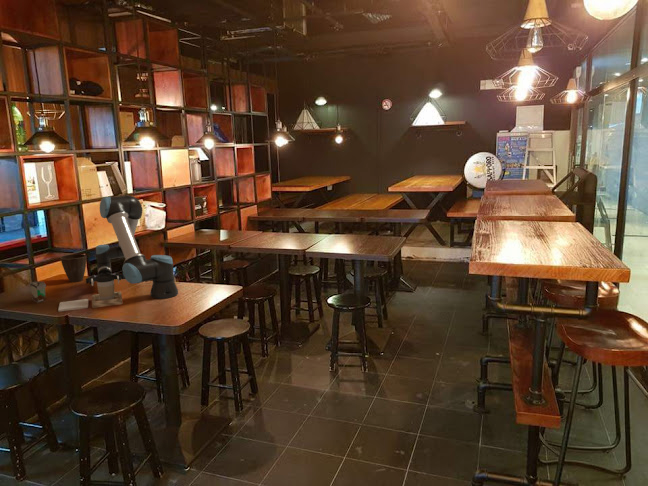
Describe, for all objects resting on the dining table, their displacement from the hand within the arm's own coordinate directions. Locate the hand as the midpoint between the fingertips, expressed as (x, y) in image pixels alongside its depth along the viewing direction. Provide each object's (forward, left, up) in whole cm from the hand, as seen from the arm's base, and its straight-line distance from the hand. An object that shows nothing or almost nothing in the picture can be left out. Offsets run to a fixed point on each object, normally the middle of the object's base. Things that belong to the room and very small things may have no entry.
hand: (105, 282), depth 280 cm
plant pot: (+42, -29, -9) cm, 52 cm away
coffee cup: (-5, +8, -9) cm, 13 cm away
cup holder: (-5, +8, -9) cm, 13 cm away
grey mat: (+9, +17, -9) cm, 21 cm away
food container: (+34, +11, -9) cm, 36 cm away
